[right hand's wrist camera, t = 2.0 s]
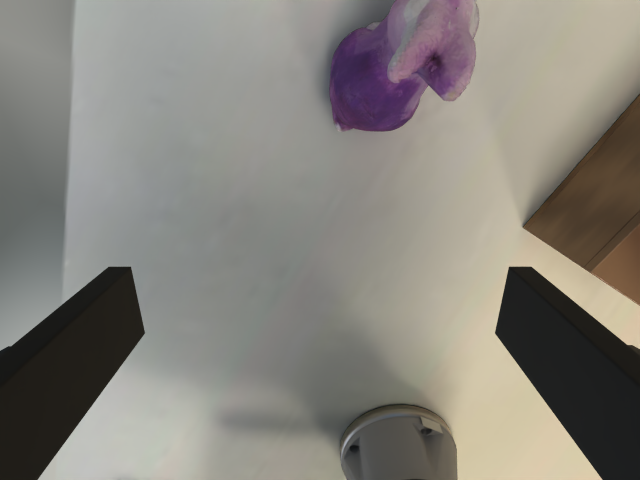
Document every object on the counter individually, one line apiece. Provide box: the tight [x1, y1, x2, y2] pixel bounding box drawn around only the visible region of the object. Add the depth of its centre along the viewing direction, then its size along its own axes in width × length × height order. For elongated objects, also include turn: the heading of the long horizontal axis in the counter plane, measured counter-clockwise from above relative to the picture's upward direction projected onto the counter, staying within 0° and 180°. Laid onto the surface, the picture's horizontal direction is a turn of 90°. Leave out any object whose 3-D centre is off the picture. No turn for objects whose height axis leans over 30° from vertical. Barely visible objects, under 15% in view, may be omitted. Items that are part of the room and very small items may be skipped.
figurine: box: [329, 0, 479, 131], centre depth 25 cm, size 9×10×15 cm
